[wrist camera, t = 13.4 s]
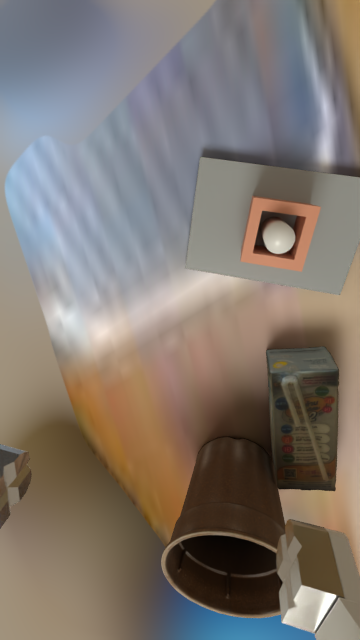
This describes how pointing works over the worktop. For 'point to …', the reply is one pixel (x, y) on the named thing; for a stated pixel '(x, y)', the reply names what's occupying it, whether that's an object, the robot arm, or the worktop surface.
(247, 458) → the plant pot
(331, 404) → the beverage carton
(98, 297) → the worktop surface
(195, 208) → the post board
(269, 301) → the worktop surface
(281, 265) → the collar
